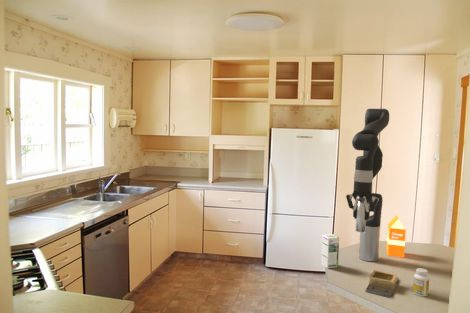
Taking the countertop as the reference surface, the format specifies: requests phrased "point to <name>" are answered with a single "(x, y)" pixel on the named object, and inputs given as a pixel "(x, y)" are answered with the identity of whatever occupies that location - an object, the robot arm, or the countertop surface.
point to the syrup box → (330, 251)
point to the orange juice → (396, 238)
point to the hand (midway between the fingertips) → (361, 219)
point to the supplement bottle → (421, 282)
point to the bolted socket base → (382, 283)
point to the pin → (360, 215)
